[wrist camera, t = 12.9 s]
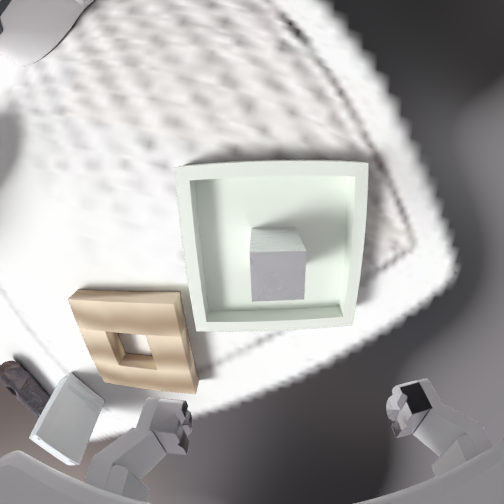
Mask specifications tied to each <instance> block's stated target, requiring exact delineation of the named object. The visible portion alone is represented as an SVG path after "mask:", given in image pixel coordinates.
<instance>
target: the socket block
mask: <svg viewBox="0 0 504 504" xmlns="http://www.w3.org/2000/svg"><path fill="white" fill-rule="evenodd" d="M68 301H69V303H70V306H71V309H72V312H73V314H74V317H75V319H76V322H77V325H78V327H79V329H80V332H81V334H82V337H83V339H84V341H85V344H86V346H87V348H88V350H89V352H90V355H91V357H92V359H93V361H94V363H95V365H96V367H97V369H98V371H99V373H100V375H101V377H102V379H103V381H104V382H106V383H111V384H117V385H123V386H129V387H135V388H142V389H149V390H157V391H166V392H177V393H189V394H196V392H197V387H198V383H199V379H198V375H197V371H196V367H195V362H194V358H193V354H192V350H191V345H190V341H189V336H188V331H187V327H186V322H185V317H184V312H183V307H182V301H181V296H180V292H155V291H105V290H77V291H76V292H75V293H74V294H73V295H72V296H71V297H70V298H69V299H68ZM118 333H128V334H140V335H146V338H147V341H148V344H149V347H150V350H151V353H152V356H146V355H136V354H127V353H125V351H124V349H123V346H122V343H121V341H120V338H119V335H118Z"/></svg>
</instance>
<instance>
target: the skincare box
mask: <svg viewBox="0 0 504 504" xmlns="http://www.w3.org/2000/svg"><path fill="white" fill-rule="evenodd" d="M104 402H105V400H104V399H103V398H101V397H100V396H99V395H97V394H96V393H95V392H94V391H92V390H91V389H90V388H89V387H87V386H86V385H85V384H84V383H83V382H81V381H80V380H79V379H78V378H77V377H76V376H75V375H73V374H72V373H69V374H68V375H67V376H65V377H64V378H63V379H62V380H60V382H59V383H58V385H57V387H56V388H55V390H54V392H53V393H52V395H51V397H50V399H49V401H48V402H47V404H46V406H45V408H44V410H43V412H42V413H41V415H40V417H39V419H38V421H37V423H36V425H35V427H34V429H33V431H32V433H31V435H30V437H29V438H30V439H31V440H33V441H34V442H35V443H36V444H38V445H39V446H41V447H42V448H43V449H45V450H46V451H48V452H49V453H51V454H52V455H53V456H55V457H56V458H58V459H59V460H61V461H62V462H64V463H66V464H67V465H79V464H80V463H81V460H82V458H83V455H84V452H85V449H86V447H87V444H88V441H89V439H90V436H91V434H92V431H93V428H94V426H95V424H96V421H97V419H98V416H99V414H100V411H101V409H102V407H103V404H104Z"/></svg>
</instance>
